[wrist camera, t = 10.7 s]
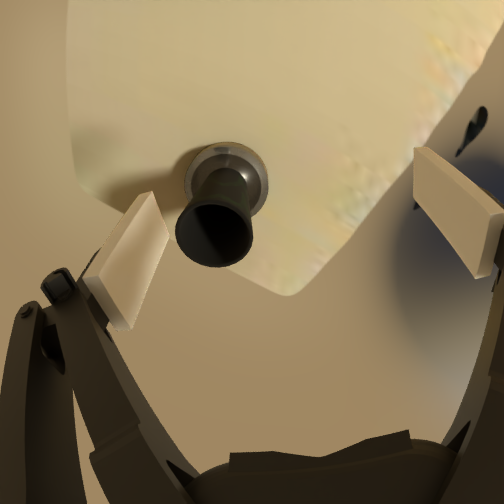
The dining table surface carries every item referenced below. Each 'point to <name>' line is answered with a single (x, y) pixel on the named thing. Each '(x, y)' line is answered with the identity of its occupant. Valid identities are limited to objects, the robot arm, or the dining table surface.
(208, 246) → the cup
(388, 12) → the dining table surface
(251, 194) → the grey metal bowl
